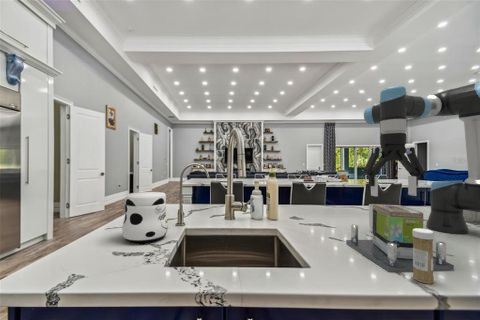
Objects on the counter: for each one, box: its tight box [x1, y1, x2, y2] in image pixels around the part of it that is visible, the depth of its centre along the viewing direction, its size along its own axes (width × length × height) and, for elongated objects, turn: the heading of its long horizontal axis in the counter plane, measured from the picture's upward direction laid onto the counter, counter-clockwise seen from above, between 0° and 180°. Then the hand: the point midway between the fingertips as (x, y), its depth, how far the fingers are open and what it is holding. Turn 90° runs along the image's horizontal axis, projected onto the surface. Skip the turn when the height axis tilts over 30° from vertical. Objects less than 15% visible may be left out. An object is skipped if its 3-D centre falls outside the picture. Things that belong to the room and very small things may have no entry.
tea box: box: [372, 203, 424, 259], centre depth 83 cm, size 15×10×15 cm, turn 170°
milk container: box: [121, 191, 169, 243], centre depth 99 cm, size 17×17×18 cm
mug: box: [368, 203, 374, 234], centre depth 110 cm, size 10×7×12 cm, turn 94°
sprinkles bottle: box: [412, 228, 435, 284], centre depth 65 cm, size 5×5×14 cm
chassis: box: [345, 224, 455, 273], centre depth 82 cm, size 20×24×8 cm
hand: (393, 195), depth 83 cm, fingers open, 13 cm apart
